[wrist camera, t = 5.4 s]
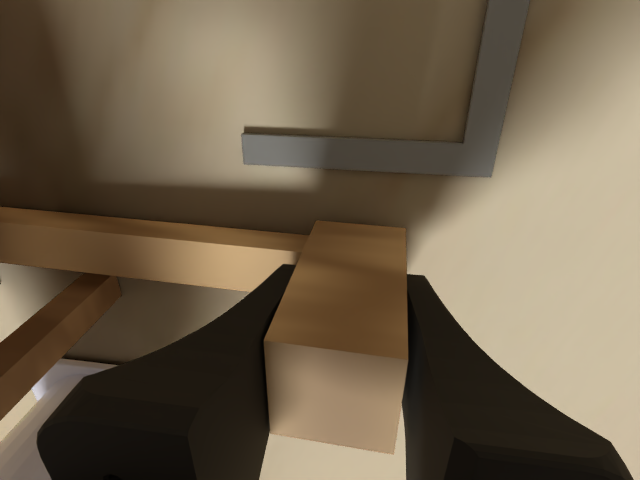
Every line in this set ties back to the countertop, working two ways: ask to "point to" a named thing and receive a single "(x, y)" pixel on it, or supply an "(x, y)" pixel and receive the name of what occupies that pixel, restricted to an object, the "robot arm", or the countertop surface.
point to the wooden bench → (52, 334)
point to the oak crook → (292, 313)
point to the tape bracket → (420, 156)
